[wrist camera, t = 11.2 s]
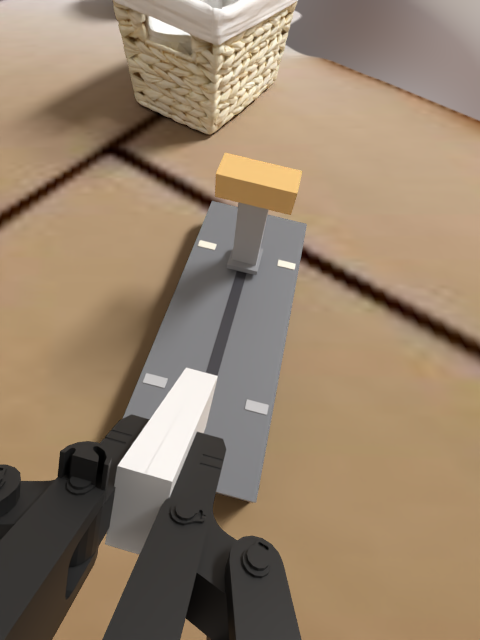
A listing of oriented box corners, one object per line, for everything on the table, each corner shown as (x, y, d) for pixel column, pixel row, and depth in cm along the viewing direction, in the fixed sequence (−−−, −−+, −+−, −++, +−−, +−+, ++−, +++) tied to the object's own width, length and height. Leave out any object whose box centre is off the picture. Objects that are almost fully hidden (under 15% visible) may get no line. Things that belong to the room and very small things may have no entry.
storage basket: (210, 51, 61) (212, -70, 48) (287, 82, 58) (311, -37, 45) (124, 106, 49) (97, -32, 37) (215, 148, 47) (220, 14, 34)
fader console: (250, 502, 25) (256, 502, 23) (115, 465, 26) (104, 461, 23) (299, 242, 39) (307, 223, 36) (211, 220, 39) (212, 200, 37)
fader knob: (271, 279, 32) (296, 195, 23) (211, 264, 32) (215, 175, 23) (276, 256, 33) (302, 169, 25) (219, 242, 33) (225, 151, 25)
